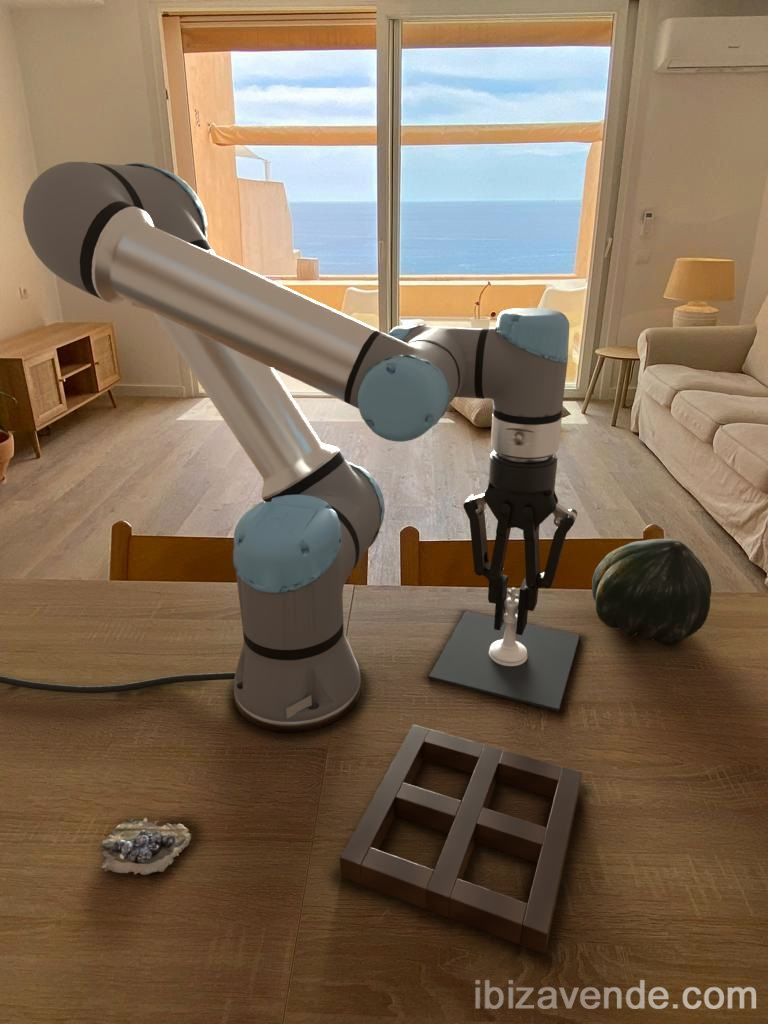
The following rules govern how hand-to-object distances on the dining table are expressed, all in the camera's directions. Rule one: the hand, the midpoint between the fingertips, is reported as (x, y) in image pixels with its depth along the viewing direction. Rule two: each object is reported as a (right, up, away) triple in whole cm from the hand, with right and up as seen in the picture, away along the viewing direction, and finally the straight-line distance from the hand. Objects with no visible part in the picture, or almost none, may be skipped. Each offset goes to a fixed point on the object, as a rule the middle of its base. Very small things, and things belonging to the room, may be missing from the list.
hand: (510, 626), depth 88 cm
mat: (0, -4, +2) cm, 5 cm away
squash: (+20, -2, +8) cm, 22 cm away
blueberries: (-38, -17, -24) cm, 48 cm away
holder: (-8, -16, -22) cm, 29 cm away
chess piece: (0, -4, +2) cm, 5 cm away
